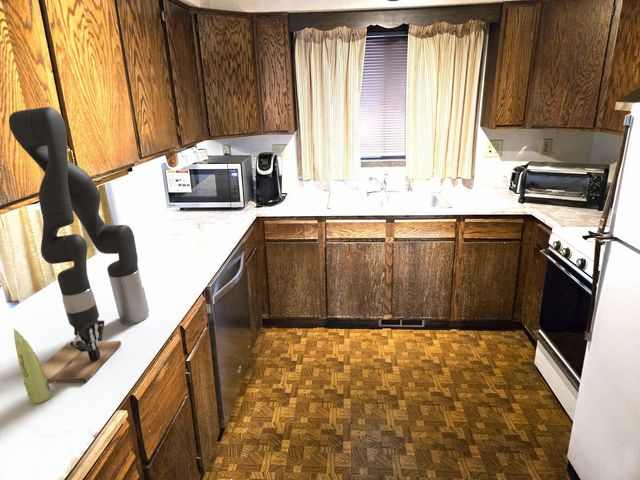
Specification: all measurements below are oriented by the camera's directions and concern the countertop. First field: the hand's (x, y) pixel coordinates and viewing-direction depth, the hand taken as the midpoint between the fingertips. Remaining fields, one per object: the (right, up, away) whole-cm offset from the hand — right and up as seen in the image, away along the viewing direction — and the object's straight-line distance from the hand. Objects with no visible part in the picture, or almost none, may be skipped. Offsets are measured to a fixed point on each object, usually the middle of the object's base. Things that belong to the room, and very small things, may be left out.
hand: (95, 359), depth 127 cm
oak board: (-11, -2, +2) cm, 11 cm away
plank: (-2, -1, +1) cm, 2 cm away
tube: (-8, -7, -12) cm, 16 cm away
